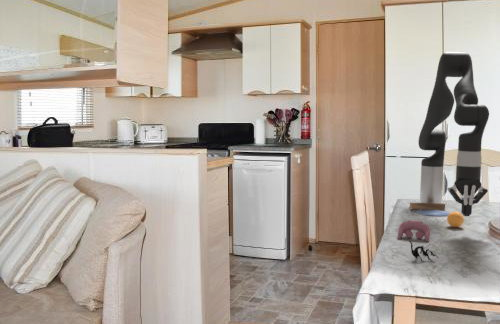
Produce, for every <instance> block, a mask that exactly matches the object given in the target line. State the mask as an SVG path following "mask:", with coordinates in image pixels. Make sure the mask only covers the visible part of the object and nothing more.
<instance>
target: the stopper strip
mask: <svg viewBox="0 0 500 324" xmlns="http://www.w3.org/2000/svg"><path fill="white" fill-rule="evenodd" d="M409 209H410V210H423V209H431V210H441V211H445V210H446V203H443V202H442V203H420V202H409Z"/></svg>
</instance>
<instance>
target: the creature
mask: <svg viewBox="0 0 500 324" xmlns="http://www.w3.org/2000/svg"><path fill="white" fill-rule="evenodd" d="M409 244H410V249H411V250H410V251H411V254H412V256H413V257H414V258H415V259H416V260H417V259H420V262H421V261H423V258H422V257H421V256H420V254H421V255H422V256H424V257H427V259H428V261H429V260H430V262H431V263H434V264H436V262H434V261H433V260H432V259H431V258H430V256H429V253H430V255H431V256H432V257H436V258H439V256H438V255H437V254H435V253H434V252H433V251H431V250H430V249H429V248H428V247H429V245H430V244H427V246H425V247H424V245H420V246H417V247H415V248H414V249H413V247H414V245H413V243H412V241H410V240H409ZM419 249H420V252H419Z"/></svg>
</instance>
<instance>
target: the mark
mask: <svg viewBox="0 0 500 324" xmlns="http://www.w3.org/2000/svg"><path fill="white" fill-rule="evenodd" d="M415 212H416V213H417V214H419V215H422V216H423V215H424V216H429V217H448V215H449V214H450V213H451V212H449V211H445V210H431V209H423V210H419V209H416V211H415Z"/></svg>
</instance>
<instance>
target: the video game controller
mask: <svg viewBox="0 0 500 324" xmlns="http://www.w3.org/2000/svg"><path fill="white" fill-rule="evenodd" d="M398 227H399V228H398V230H397V237H398V239H399V240H401V239H402V237H403V236H404V234H405V236H406V238H407V239H411V238H413V236H414V232H413V231H414V230H415V231H416V232H415V237H416V238H417V239H418V240H422V239H423V238H424V240H425V242H429V240H430V238H431V226H430V225H429V224H428V223H426V222H423V221H421V220H416V219H415V220H414V219H413V220H412V219H410V220H404V221H402V222H401V223H400V224H399V226H398ZM412 230H413V231H412Z"/></svg>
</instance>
